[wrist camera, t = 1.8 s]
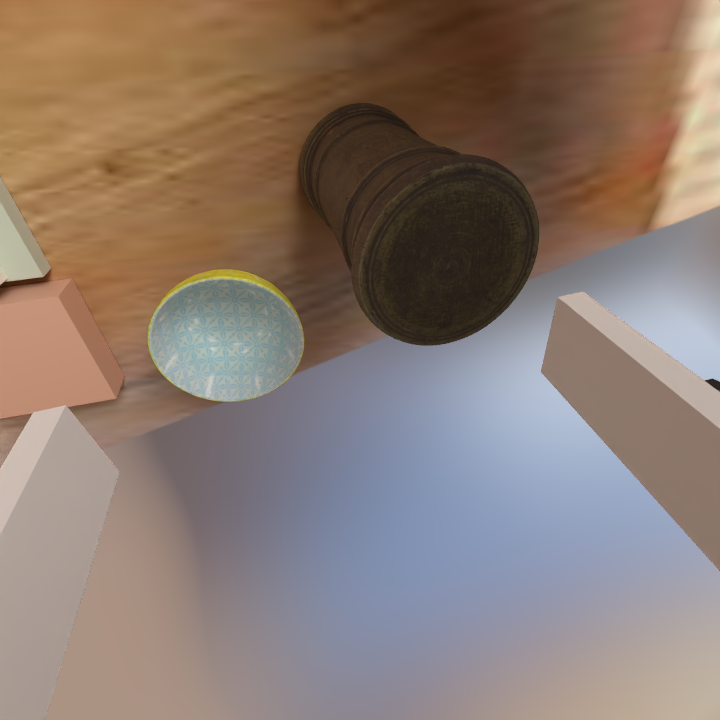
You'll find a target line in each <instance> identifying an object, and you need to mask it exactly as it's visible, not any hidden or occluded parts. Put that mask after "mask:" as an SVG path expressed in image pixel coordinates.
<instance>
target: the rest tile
mask: <svg viewBox="0 0 720 720" xmlns="http://www.w3.org/2000/svg"><path fill="white" fill-rule="evenodd" d="M123 380H124V375H123V373H122V371H121V369H120V367H119V366H118V364H117V362H116V360H115V358H114V356H113V354H112V352H111V351H110V349H109V347H108V345H107V343H106V341H105V339H104V337H103V336H102V334H101V332H100V330H99V328H98V326H97V324H96V322H95V320H94V319H93V317H92V315H91V313H90V311H89V309H88V307H87V305H86V304H85V302H84V300H83V298H82V296H81V294H80V292H79V290H78V289H77V287H76V285H75V283H74V281H73V279H72V278H71V279H63V280H56V281H48V282H40V283H33V284H25V285H18V286H10V287H2V288H0V419H2V418H8V417H13V416H19V415H25V414H31V413H33V412H37V411H41V410H46V409H51V408H55V407H60V406H64V405H66V406H67V407H71V406H77V405H83V404H88V403H94V402H100V401H106V400H111V399H117V396H118V393H119V391H120V388H121V385H122V382H123Z"/></svg>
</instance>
